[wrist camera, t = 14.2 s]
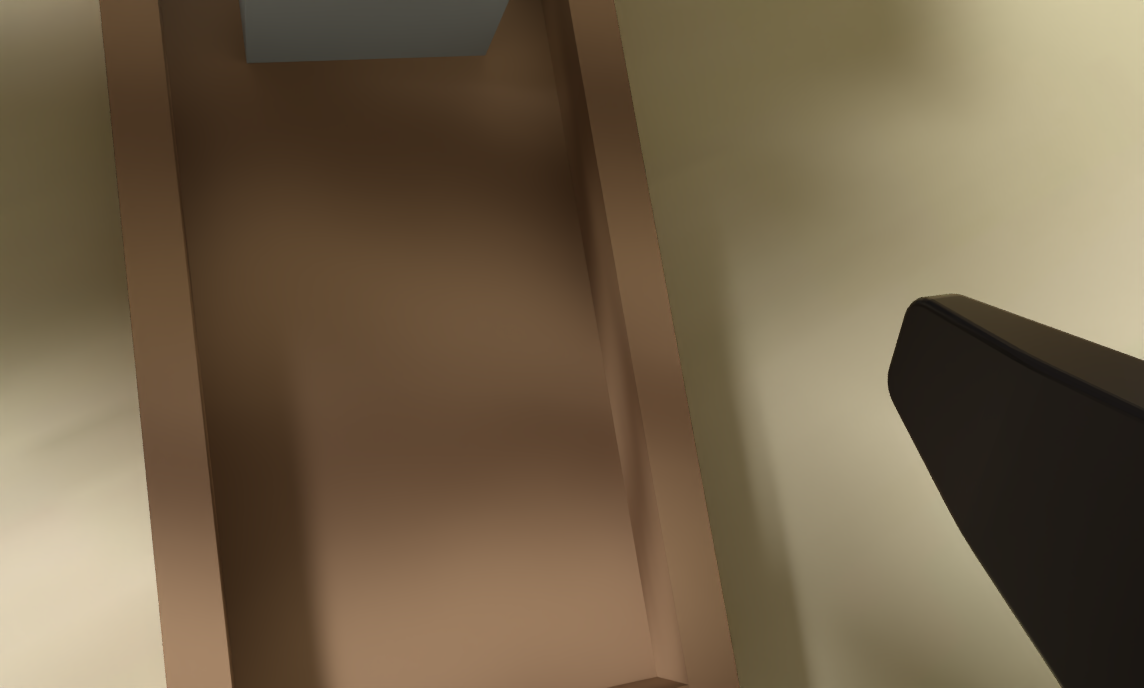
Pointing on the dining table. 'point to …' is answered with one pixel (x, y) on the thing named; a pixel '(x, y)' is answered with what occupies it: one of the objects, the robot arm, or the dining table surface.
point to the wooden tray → (407, 363)
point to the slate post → (367, 29)
